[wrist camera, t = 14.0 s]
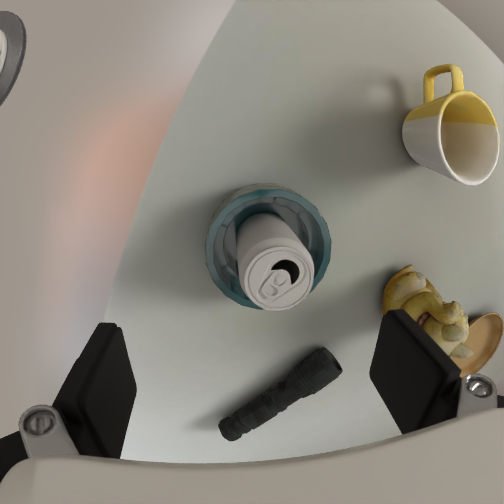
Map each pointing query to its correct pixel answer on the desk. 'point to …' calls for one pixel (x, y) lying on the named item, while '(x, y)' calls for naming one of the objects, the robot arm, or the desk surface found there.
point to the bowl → (253, 202)
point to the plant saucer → (481, 342)
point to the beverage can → (272, 263)
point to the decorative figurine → (428, 310)
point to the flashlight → (283, 394)
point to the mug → (452, 131)
